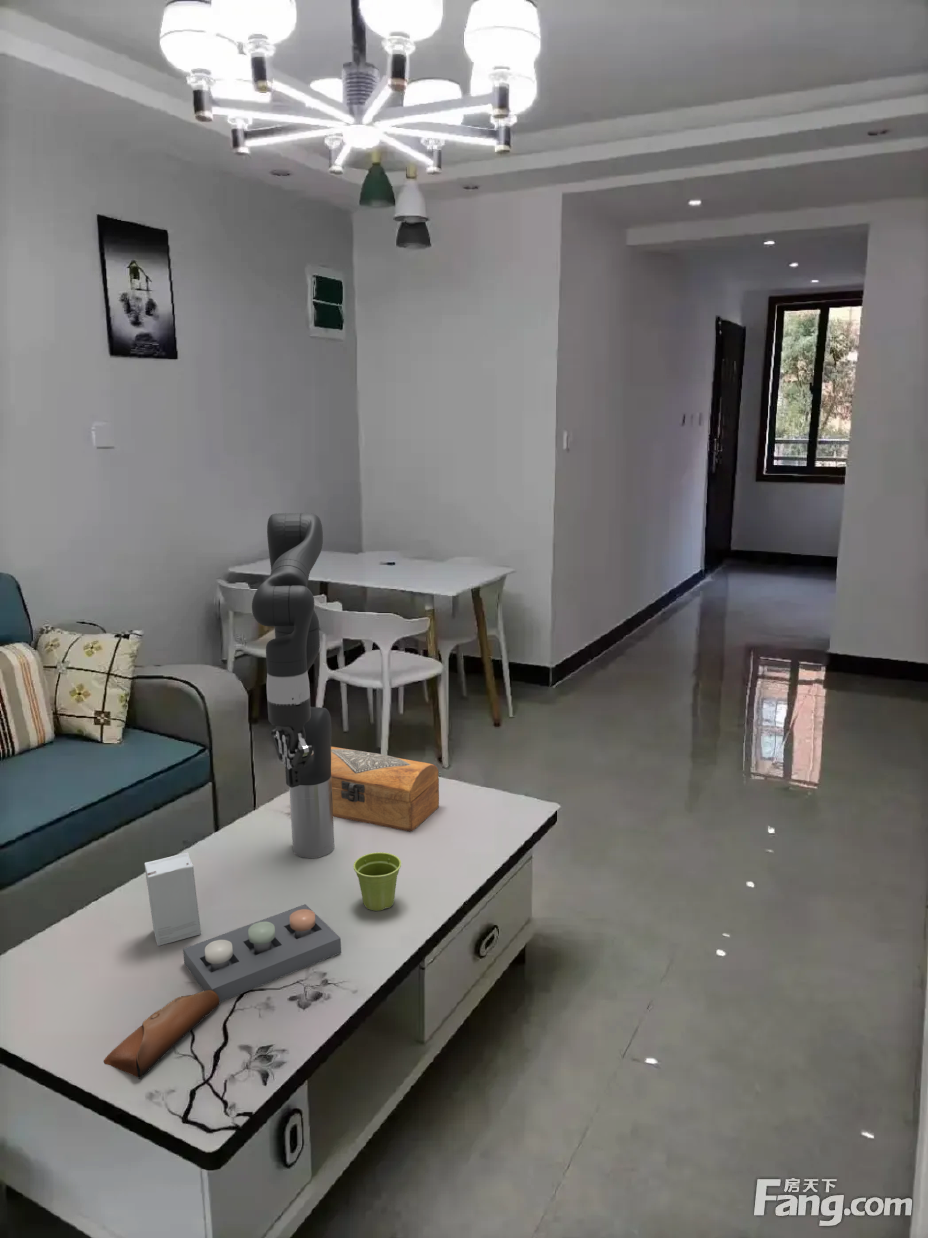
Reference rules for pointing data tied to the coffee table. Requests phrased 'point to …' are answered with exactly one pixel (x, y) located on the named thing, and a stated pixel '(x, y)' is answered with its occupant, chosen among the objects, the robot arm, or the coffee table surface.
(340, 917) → the coffee table surface
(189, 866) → the skincare box
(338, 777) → the wooden box
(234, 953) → the console
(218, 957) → the ivory button
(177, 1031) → the sunglasses case
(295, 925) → the terracotta button
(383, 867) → the plant pot
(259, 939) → the sage button
